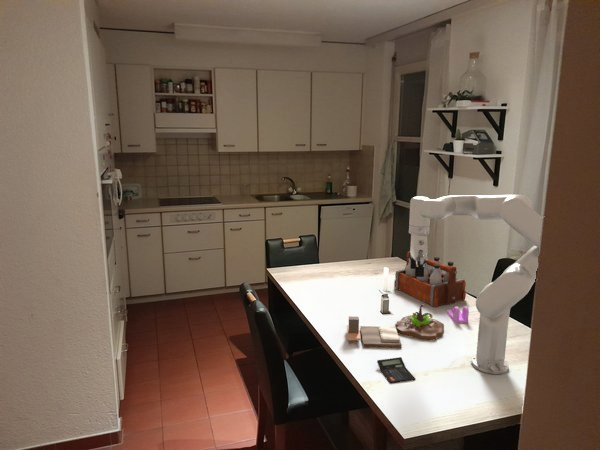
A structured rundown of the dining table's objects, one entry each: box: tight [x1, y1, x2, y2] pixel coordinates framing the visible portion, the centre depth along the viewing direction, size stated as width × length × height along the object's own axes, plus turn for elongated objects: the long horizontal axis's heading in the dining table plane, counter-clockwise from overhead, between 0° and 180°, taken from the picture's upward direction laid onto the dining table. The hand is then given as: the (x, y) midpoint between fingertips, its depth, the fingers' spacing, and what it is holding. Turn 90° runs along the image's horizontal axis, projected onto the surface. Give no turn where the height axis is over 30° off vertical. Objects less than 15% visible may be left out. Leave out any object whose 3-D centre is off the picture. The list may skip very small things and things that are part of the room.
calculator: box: [376, 356, 416, 384], centre depth 163 cm, size 9×12×3 cm
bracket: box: [447, 306, 470, 324], centre depth 209 cm, size 13×6×7 cm, turn 2°
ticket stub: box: [346, 315, 362, 341], centre depth 189 cm, size 12×5×7 cm, turn 177°
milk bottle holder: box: [393, 250, 467, 308], centre depth 237 cm, size 21×35×19 cm, turn 28°
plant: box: [394, 303, 445, 341], centre depth 197 cm, size 20×20×11 cm
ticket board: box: [359, 325, 402, 349], centre depth 189 cm, size 16×15×3 cm
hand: (416, 272), depth 177 cm, fingers open, 9 cm apart
